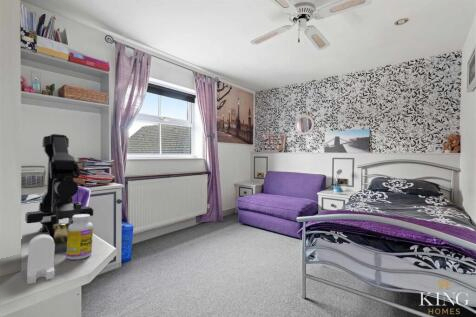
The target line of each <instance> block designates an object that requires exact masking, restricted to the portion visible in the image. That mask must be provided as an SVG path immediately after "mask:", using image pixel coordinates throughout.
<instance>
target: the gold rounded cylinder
mask: <svg viewBox="0 0 476 317" xmlns="http://www.w3.org/2000/svg"><path fill="white" fill-rule="evenodd" d="M68 227H69V223H68V222H59V223H58V224H54V225H53V240H54V244H55V243H61V242H67V238H68Z"/></svg>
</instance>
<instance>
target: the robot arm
mask: <svg viewBox="0 0 476 317" xmlns="http://www.w3.org/2000/svg"><path fill="white" fill-rule="evenodd" d="M69 142H70V141H69V138H68V136H67V135H65V134H60V133H59V134H57V133H52V134H50V135H47V136H46V135H45V136H43V139H42V143H41V144H42V148H43V151H44V153H45V154H46V156H47V158H48V159H47V160H48V161H47V162H48V163H47V176H46V177H47V182H46V191H45V193H44V194H43V196H42V197H41V202H39V205H38V210H35V211H27V212H26V213H25V216H24V221H25V222H26V223H25V224H34V223H39V224H40V225H41V227H39V230H40V232H41V233H48V235H50V236H51V237H52V238H53V225H54V224H58V223H60V220H64V219H68V222H67V223H69V226H70V225H71V224H73V220H72V217H73V216H74V215H79V214H89V215H90V217H92V216H94V208H92V207H90V206H82V202H73V196H76V194H77V193H78V191H79V185H78V184H77V182H76V181H74V179H79V177H80V174H81V173H80V172H81V171H80V166H79V165H78V162H76V159H75V157H74V156H72V155H71V154H69V149H68V148H69V147H70V145H69Z"/></svg>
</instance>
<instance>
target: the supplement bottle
mask: <svg viewBox="0 0 476 317" xmlns="http://www.w3.org/2000/svg"><path fill="white" fill-rule="evenodd" d="M90 219H91V216H90V215H89V214H79V215H74V216H73V217H72V220H73V224H71V225H70V226H69V227H68V238H67V251H66V259H67V260H72V261H78V260H83V259H86V258H89V257H90V256H91V255H92V252H93V251H92V250H93V235H94V233H93V232H94V231H93V230H94V225H93V223H92V222H90Z"/></svg>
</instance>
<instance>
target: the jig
mask: <svg viewBox="0 0 476 317" xmlns="http://www.w3.org/2000/svg"><path fill="white" fill-rule="evenodd" d="M62 252H67V242H61V243H55V250H54V254H58V253H62Z"/></svg>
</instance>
